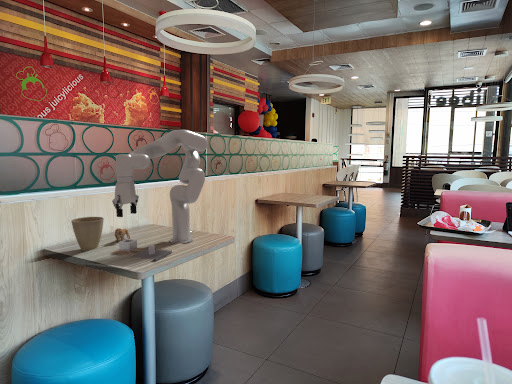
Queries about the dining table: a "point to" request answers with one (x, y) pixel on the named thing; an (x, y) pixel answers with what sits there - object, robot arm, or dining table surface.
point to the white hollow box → (128, 245)
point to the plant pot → (88, 231)
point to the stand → (128, 253)
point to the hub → (152, 253)
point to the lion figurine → (121, 234)
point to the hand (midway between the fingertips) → (126, 215)
